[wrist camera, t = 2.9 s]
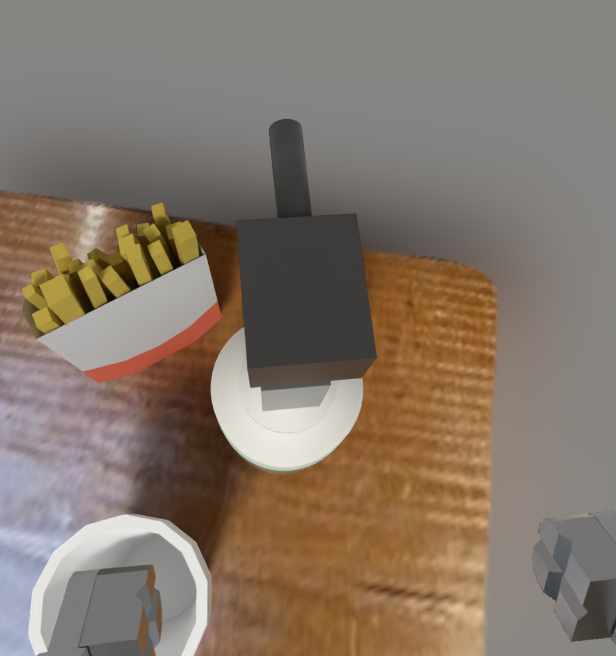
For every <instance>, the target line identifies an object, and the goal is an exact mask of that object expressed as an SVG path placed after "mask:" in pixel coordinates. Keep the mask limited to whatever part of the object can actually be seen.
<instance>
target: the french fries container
mask: <svg viewBox="0 0 616 656" xmlns="http://www.w3.org/2000/svg"><path fill="white" fill-rule="evenodd" d="M151 207H152V213H153V218H154V220H155V222H156V224H157V226H158V229H159V231H160V232H159V231H158V229H157V228H156V226H155V225H154V223H153V224H152V225H151V226H150V224H149V223H144V224H138V225H137V233H138V238H139V240H140V242H141V243H140V242H139V241H138V240H137V238H136V237H135V236H134V235H133V234H131V233H130V231H129V228H128V225H127V224H126V225H124V226H121V227H119V228H116V233H117V237H118V242H119V248H120V251H117V252H115V253H112V254H110V255H106V254H105V253H103V252H101V251H100V250H98V249H97V248H96V249H94V250H93V251H91V252H90V253H88V254H87V255H88V258H89V261H88V262H86V263H84V264H83V263H82V262H81V261H80V260H79V259H76V260H73V261H72V258H71V255H70V253H69V251H68V249H67V247H66V246H65V244H64V242H63V243H60V244H58V245H55V246H52V247H50V251H51V253H52V256H53V259H54V261H55V264H56V266H57V269H58V272H59V274H60V275H59V276H56V277H55V278H54V277H53V276H52V275H51V274H50V273H49V271H48V270H47V269H43V270H40V271H37V272H34V273H31V276H32V284H30V285H28V286H26V287H25V288H23V289H22V291H23V293H24V296H25V302H24V305H23V309H22V310H23V312H24V314H25V316H26V318H27V320H28V322H29V325H30V327H31V329H32V331H33V333H34V335H35V337H36V339H37V340H39V341H40V342H41V343H43V344H44V345H46V346H47V347H49V348H50V349H51V350H53V351H54V352H56V353H57V354H59V355H60V356H61V357H63V358H64V359H66V360H67V361H69V362H70V363H71V364H73V365H74V366H76V367H77V368H79V369H80V370H81V371H83V372H84V373H86V374H87V375H89V376H90V377H91V378H93V379H94V380H96V381H97V382H103V381H107V380H111V379H115V378H119V377H122V376H126V375H130V374H134V373H138V372H140V371H141V370H143V369H145V368H147V367H149V366H151V365H153V364H154V363H156V362H158V361H160V360H162V359H164V358H166V357H168V356H169V355H171V354H173V353H175V352H177V351H179V350H181V349H182V348H184V347H186V346H188V345H190V344H192V343H194V342H196V341H197V340H198V339H199V338H200V337H201V336H202V335H203V334H204V333H205V332H206V331H208V330H209V329H210V328H211V327H212V326H213V325H214V324H215V323H216V322H217V321H218V320H219V319H220V318H222V317H221V313H220V309H219V305H218V301H217V297H216V293H215V289H214V285H213V281H212V277H211V273H210V269H209V265H208V261H207V257H206V254H205V252H204V251H203V249H202V247H201V245H200V244H199V242H198V240H197V237H196V234H195V232H194V230H193V229H192V227H191V225H190V223H189V221H188V220H186V221H185V222H183V223H181V222H177V221H175V220H173V219H169V216H168V214H167V212H166V209H165V207H164V204H163V203H159V204H156V205H153V206H151ZM141 244H142V245H141ZM123 258H124V259H125V260H126V261H127V262H125V261H124V259H123Z"/></svg>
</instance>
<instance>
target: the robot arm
mask: <svg viewBox="0 0 616 656" xmlns="http://www.w3.org/2000/svg"><path fill="white" fill-rule="evenodd" d="M538 533H539V535H540V537H541V538H542V539H541V540H540V541H539V542H538V543H537V544H536V545H535V546H534V548H533V553H532V563H533V570H534V573H535V576H536V579H537V582H538V583H539V585H540V587H541V589H542V591H543V592H544V593H545V594H546V595H548V596H549V597H551V598H552V599H553V600H555V601H556V603H555V609H554V613H555V614H556V616H557V618H558V620H559V621H560V623H561V625H562V627H563V629H564V630H565V632H566V634H567V635H568V637H569V639H570V641H571V642H574V641H583V640H593V639H602V638H612V639H611V640H612V641H613V642H614V643H615V644H616V513H614V512H613V511H605V512H597V513H589V514H585V513H584V514H576V515H569V516H561V517H553V518H546V519H543V520H542V521H541V522H540V523H539V527H538ZM155 578H156V575H155V571H154V567H153V565H139V566H128V567H116V568H105V569H96V570H86V571H76V572H74V573H73V574H72V576H71V577H70V579H69V581H68V585H67V588H66V591H65V595H64V598H63V601H62V605H61V608H60V611H59V615H58V618H57V621H56V625H55V628H54V631H53V635H52V638H51V641H50V645H49V648H48V652H44V653H39V654H38V655H37V656H156V655H155V650H154V648H155V647H156V646H157V645H158V643H159V642H160V639H161V629H162V605H161V597H160V592H159V590H157V589H156V588H154V586H155Z"/></svg>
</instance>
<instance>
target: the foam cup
mask: <svg viewBox="0 0 616 656" xmlns="http://www.w3.org/2000/svg"><path fill="white" fill-rule="evenodd" d="M139 565H153V567H154V571H155V575H156V578H155V586H154V588H156V589H157V590H159V592H160V597H161V605H162V629H161V639H160V642H159V643H158V645H157V646H156V647H155V648H154V650H155V655H156V656H194V654H195V652H196V650H197V647H198V645H199V643H200V641H201V638H202V636H203V634H204V631H205V629H206V627H207V624H208V622H209V620H210V617H211V578H212V576H211V574H210V571H209V569H208V567H207V565H206V563H205V560H204V558H203V556H202V554H201V552H200V549H199V547H198V545H197V543H196V542H195V541H194V540H193V539H192V538H190V537H189V536H188V535H187V534H185V533H184V532H183V531H182V530H180V529H179V528H178V527H177V526H175V525H174V524H173V523H172V522H170V521H169V520H165V519H160V518H155V517H150V516H144V515H139V514H124V515H121V516H117V517H113V518H110V519H106V520H103V521H99V522H95V523H92V524H88V525H86V526H84V527H83V528H82V529H81V530H80V531H78V532H77V533H76V534H75V535H73V536H72V537H71V538H70V539H69V540H67V541H66V542H65V543H64V544H63V545H61V546H60V547H59V548H58V549H56V550H55V551H54V552H53V553H52V555H51V557H50V559H49V561H48V563H47V565H46V567H45V568H44V570H43V572H42V574H41V576H40V578H39V580H38V582H37V583H36V585H35V587H34V589H33V591H32V600H31V611H30V622H29V633H28V636H29V639H30V642H31V644H32V647H33V650H34V653H35V655H36V656H37V655H38V654H39V653H44V652H48V648H49V645H50V641H51V638H52V635H53V631H54V628H55V625H56V621H57V618H58V615H59V611H60V608H61V605H62V601H63V598H64V595H65V591H66V588H67V585H68V581H69V579H70V577H71V576H72V574H73V573H74V572H76V571H86V570H96V569H105V568H116V567H128V566H139Z"/></svg>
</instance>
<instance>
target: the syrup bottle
mask: <svg viewBox="0 0 616 656" xmlns="http://www.w3.org/2000/svg"><path fill="white" fill-rule="evenodd" d="M211 398H212V404H213V408H214V412H215V415H216V417H217V419H218V422H219V425H220V427H221V430H222V431H223V433H224V435H225V437H226V438H227V440H228V441H229V443H230V444H231V446H232V447H233V448H234V450H235V451H236V452H237V453H238V454H239V455H240V456H241V457H242V458H243V459H244V460H245V461H246V462H247V463H248V464H249V465H251V466H252V467H254V468H256V469H258V470H260V471H262V472H265V473H269V474H274V475H288V474H294V473H297V472H301V471H303V470H305V469H307V468H309V467H311V466H313V465H315V464H316V463H318V462H319V461H321V460H322V459H323V458H325V457H326V456H327V455H328V454H330V453H331V452H332V451H333V450H334V449H335V448H336V447H337V446H338V445H339V444H340V443H341V441H342V440H343V439H344V438H345V437H346V436H347V435H348V433H349V432H350V430H351V429H352V427H353V425H354V423H355V421H356V419H357V417H358V414H359V411H360V408H361V403H362V398H363V381H362V378H358V379H347V380H335V381H324V382H313V383H301V384H290V385H278V386H267V387H256V388H250V384H249V377H248V371H247V359H246V346H245V332H244V327H243V328H242V329H240V330H239V331H238V332H236V333H235V334H234V335H233V336H232V337H231V338H230V339H229V341H228V342H227V343H226V344H225V346H224V347H223V349H222V351H221V352H220V354H219V356H218V358H217V360H216V363H215V366H214V369H213V373H212V379H211Z"/></svg>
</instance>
